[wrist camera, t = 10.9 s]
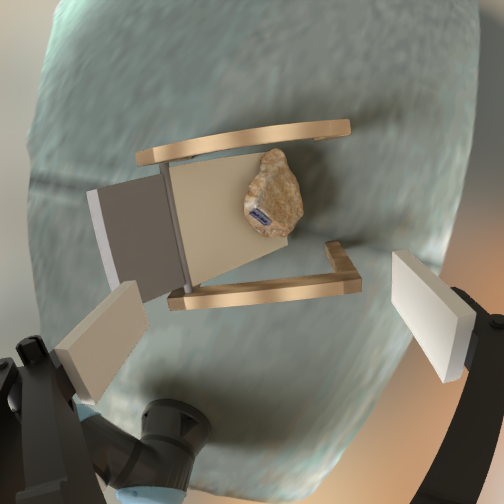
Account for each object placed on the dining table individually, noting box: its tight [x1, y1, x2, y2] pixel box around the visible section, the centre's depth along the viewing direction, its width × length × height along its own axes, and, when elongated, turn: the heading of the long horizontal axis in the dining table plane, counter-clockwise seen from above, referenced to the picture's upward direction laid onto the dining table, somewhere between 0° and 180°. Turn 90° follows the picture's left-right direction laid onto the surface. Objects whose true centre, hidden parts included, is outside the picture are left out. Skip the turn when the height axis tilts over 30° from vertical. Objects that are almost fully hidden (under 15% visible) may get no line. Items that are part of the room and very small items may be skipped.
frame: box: [135, 119, 362, 311], centre depth 37 cm, size 21×18×14 cm
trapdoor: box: [86, 152, 288, 303], centre depth 36 cm, size 24×14×5 cm
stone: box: [244, 148, 304, 238], centre depth 38 cm, size 8×10×4 cm
